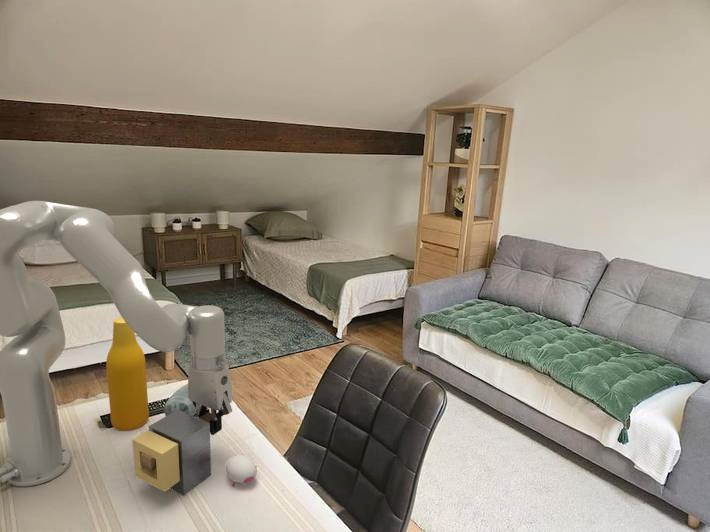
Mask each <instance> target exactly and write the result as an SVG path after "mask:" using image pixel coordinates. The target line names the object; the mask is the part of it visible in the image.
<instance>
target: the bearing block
mask: <svg viewBox="0 0 710 532" xmlns="http://www.w3.org/2000/svg"><path fill="white" fill-rule="evenodd" d="M148 430H149V431H151V432H154V433H156V434H158V435H160V436H162V437H164V438H166V439H168V440H171V441H173V442H175V443H177V444H178V454H179V475H180V481H179V482H177V483H176V484H175V485H173V486H172V487H171V488H169V490H172V491H174V492H176V493H178V494H180V495H182V496H183V497H185V496H186V495H188V494H189V493H190V492H191V491H193V490H194V489H195V488H196V487H197V486H199V485H200V484H201V483H203V482H204V481H205V480H206V479H208V478H210V476H212V462H211V460H212V459H211V458H212V456H211V451H212V450H211V434H210V423H208V422H206V421H204V420H201V419H199V418H198V417H197V416H195V415H194V416H192V415H189V414H187V413H185V412H182V411H180V410H176V411H174V412H173V413H171V414H169V415H167V416H164V417H162V418H161V419H158V420H157V421H156V422H153V423H152V424H150V425H148Z"/></svg>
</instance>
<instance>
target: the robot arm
mask: <svg viewBox="0 0 710 532" xmlns="http://www.w3.org/2000/svg"><path fill="white" fill-rule="evenodd" d="M115 229H116V227H115V224H114V222H113V220H112V218H111V217H110V216H109V215H108V214H107V213H105V212H103V210H99V209H97V208H91V207H85V206H77V205H72V204H71V205H70V204H64V203H58V202H52V201H44V200H30V201H28V200H27V201H25V202H21V203H18V204H15V205H14V204H13V205H9V206H8V207H4V208H1V209H0V336H1V337H4V338H12V337H13V339H11V340H10V341H9V342H8V343H7V344H6V345H5V346H3V348H2V349H0V395H1V400H2V405H3V412H4V416H5V417H4V418H5V423H6V428H7V429H6V430H7V436H8V442H9V443H8V444H9V449H10V450H9V451H10V456H8V457H6V463H5V464H3V465H2V467H0V482H2V484H3V483H5V482H7V483H8V484H10V485H13V486H15V487H30V486H31V487H32V486H37V485H41V484H44V483H46V482H49V481H51V480H53V479H55V478H57V477H59V476H60V475H61V474H62V473H64V472H65V471H66V470H67V469H68V468H69V466H70V465H71V463H72V455H71V453H70V451H69V450H68V449H67V448H64V447H63V446H62V437H61V428H60V420H59V414H58V413H59V411H58V404H57V403H58V401H57V395H56V389H55V387H54V384H53V382H52V380H51V378H50V374H49V373H50V372H49V371H50V369H51V367H52V366H53V365H54V364H55V362H56V361H57V360H58V359H59V358H60V357H61V355H62V354H63V352H64V350H65V347H66V333H65V329H64V324H63V320H62V318H61V317H62V316H61V312H60V308H59V303H58V300H57V297H56V294H55V293H54V291H53V290H52V288H51V287H50V286H49V285H48V284H46V283H45V282H43V281H42V280H39V279H35V278H29V275H28V271H27V270H28V269H27V268H26V265H25V263H24V260H23V259H22V258H21V257H20V255H19V253H20V252H21V251H22V250H25V249H27V248H30V247H32V246H33V245H36V244H38V243H40V242H42V241H44V240H45V241H53V242H54V241H55V242H59V244H60V245H61V247H62V248H63V249H64V250H65V251H66V253H68V255H70V256H71V257H72V258H73V259H74V260H75V261H76V262H77V263H78V264H79V265H80V266H81V267H82V268H83V269H84V270H85V271H86V272H88V274H90V275H91V276H92V277H93V278H94V279H95V280H96V281H97V282H98V283H99V284H100V285H101V286H102V287H103V289H105V290H106V291H107V292H108V294H109V296H110V299H111V301H112V303H113V304H114V306H115V308H116V309H117V312H118V313H119V315H120V316H121V317H122V318H123V319H124V321H125V322H126V323H127V325H128V326H129V327H130V328H131V329H132V330H133V331H134V332H135V335H137V336H138V337H139V338H140V340H142V341H143V342H145V343H146V344H147V345H148V346H149V347H151V348H152V349H154V350H155V351H158V352H162V353H171V352H173V351H176V350H177V349H179V348H180V347H181V346H182V345H183V343H184V342H185V340H186V338H187V337H186V336H189V342H190V344H189V345H190V364H189V369H188V375H187V376H188V377H187V384H188V393H189V394H188V398H189V399H190V400H191V402H193V405H194V406H195V408H196V414H197V418H199V417H201V416H202V415H204V414H206V413H207V412H210V413H211V416H212V419H211V420H210V436H214V435H216V434H217V433H218V432H220V431H221V430H222V429H223V424H222V423H223V421H222V418H223V416H227V415H229V414H230V413H232V412H233V408H232V406H231V403H232V402H233V386H232V379H231V373H230V369H229V366H228V361H227V359H226V340H225V339H226V338H225V337H226V333H225V326H226V325H225V313H224V310H223V309H222V308H221V307H219V306H217V305H210V304H209V305H208V304H207V305H200V306H196V305H190V304H189V305H188V304H182V303H168V304H165V305H164V306H162V307H161V305H159V304H158V302H157V301H156V300H155V298H154V297H153V295H152V293H151V292H150V290H149V288H148V285H147V282H146V276H145V272H144V268H143V266H142V264H141V263H140V261H138V260H137V259H136V258H135V257H134V256H133V254H131V253H130V252H129V251H128V250H127V249H126V248H125V246H123V245H122V243H120V242H119V241H118V240H117V239H116V238H115V237H114V235H115V232H116V231H115Z"/></svg>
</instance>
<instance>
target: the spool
mask: <svg viewBox="0 0 710 532" xmlns="http://www.w3.org/2000/svg"><path fill="white" fill-rule="evenodd" d="M188 394H189V393H188V383H186V384H184V385H182V386H181V387H180V388H178V389H177V390H176V391H175V392H173V394H171V396H170V397H169V398H168V400H167V401H166V402H165V404H164V405H163V413H164V417H166V416H167V415H169V414H171V413H173V412H174V411H176V410H180V411H182V412H185V413H187V414H189V415H192V416H194V417H195V415H196V414H197V413H196V408H195V406H194V405H193V402H191V400H190V399H189V398H188Z"/></svg>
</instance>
